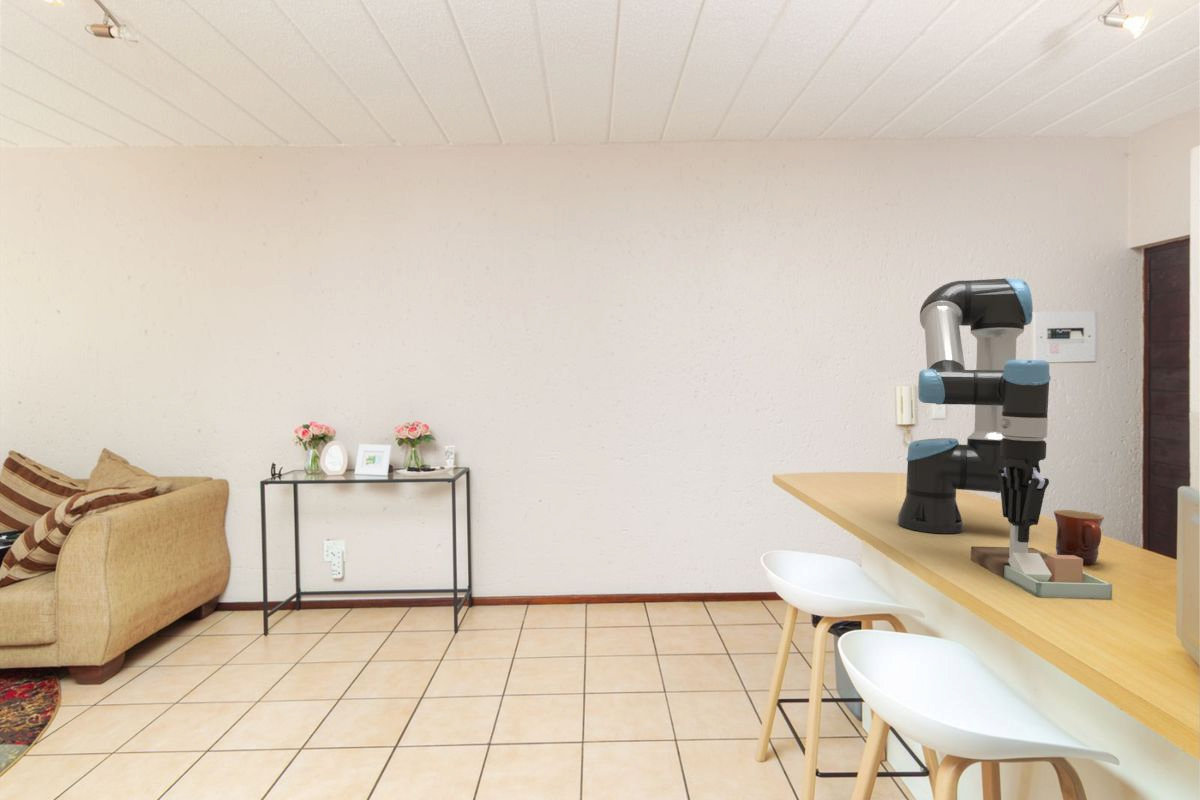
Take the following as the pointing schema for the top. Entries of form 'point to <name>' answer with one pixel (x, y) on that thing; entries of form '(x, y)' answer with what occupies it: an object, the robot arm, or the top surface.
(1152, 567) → the top surface
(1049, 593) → the tray
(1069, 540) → the mug
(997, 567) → the board
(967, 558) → the top surface
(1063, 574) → the tile terracotta
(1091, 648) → the top surface
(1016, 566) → the tile white
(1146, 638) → the top surface
